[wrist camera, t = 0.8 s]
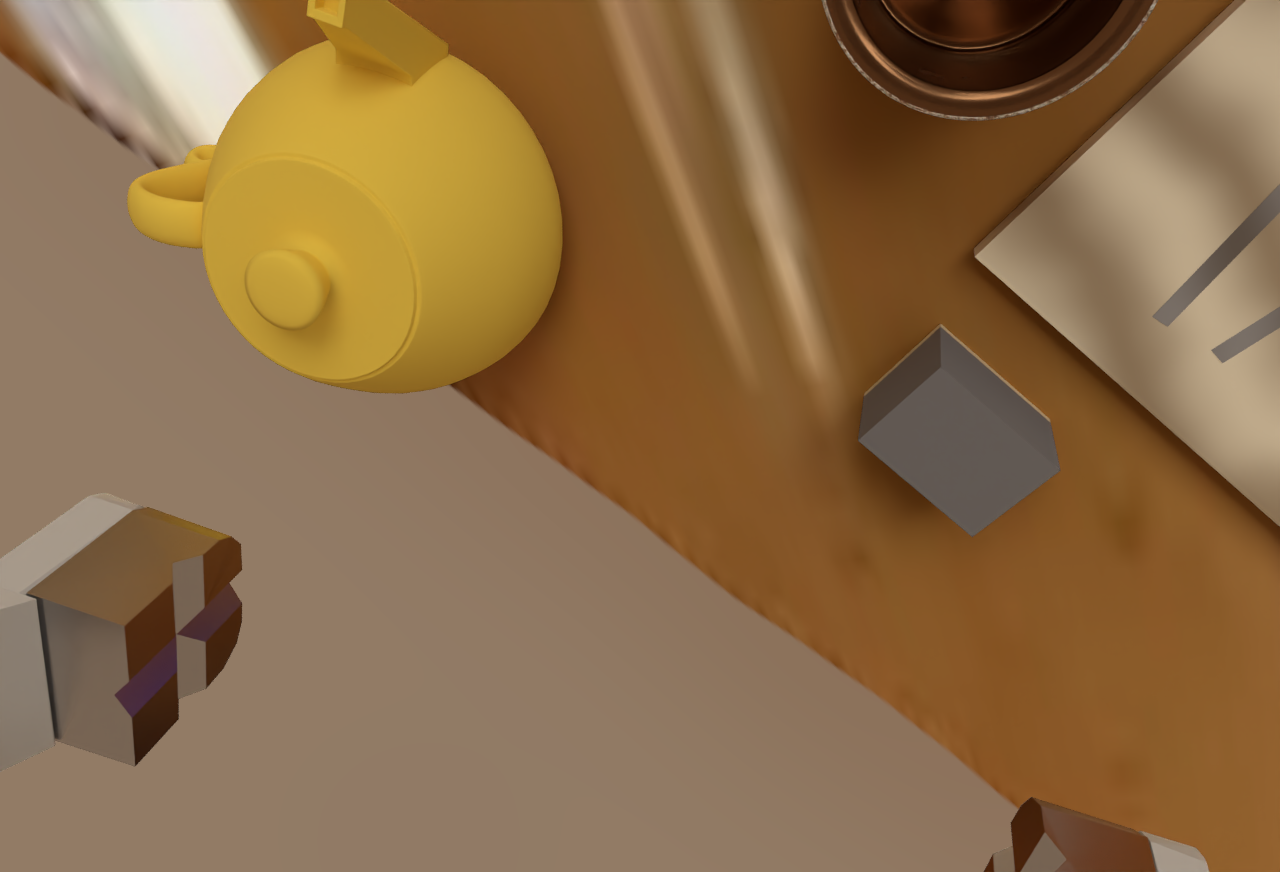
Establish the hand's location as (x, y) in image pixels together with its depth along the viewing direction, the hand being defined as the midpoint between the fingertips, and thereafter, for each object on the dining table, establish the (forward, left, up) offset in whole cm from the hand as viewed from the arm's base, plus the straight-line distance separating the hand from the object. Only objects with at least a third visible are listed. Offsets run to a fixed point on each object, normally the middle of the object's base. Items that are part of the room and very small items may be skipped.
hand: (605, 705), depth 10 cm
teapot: (+17, -14, -39) cm, 45 cm away
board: (-6, +20, -38) cm, 44 cm away
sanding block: (+8, +14, -39) cm, 42 cm away
